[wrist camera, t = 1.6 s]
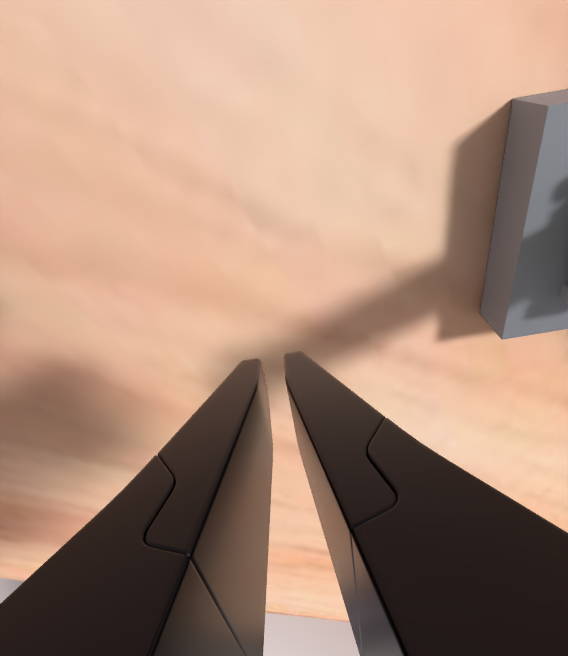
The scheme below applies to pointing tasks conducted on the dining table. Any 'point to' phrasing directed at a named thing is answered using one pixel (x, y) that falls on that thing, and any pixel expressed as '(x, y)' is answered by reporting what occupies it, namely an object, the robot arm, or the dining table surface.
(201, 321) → the dining table surface
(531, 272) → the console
